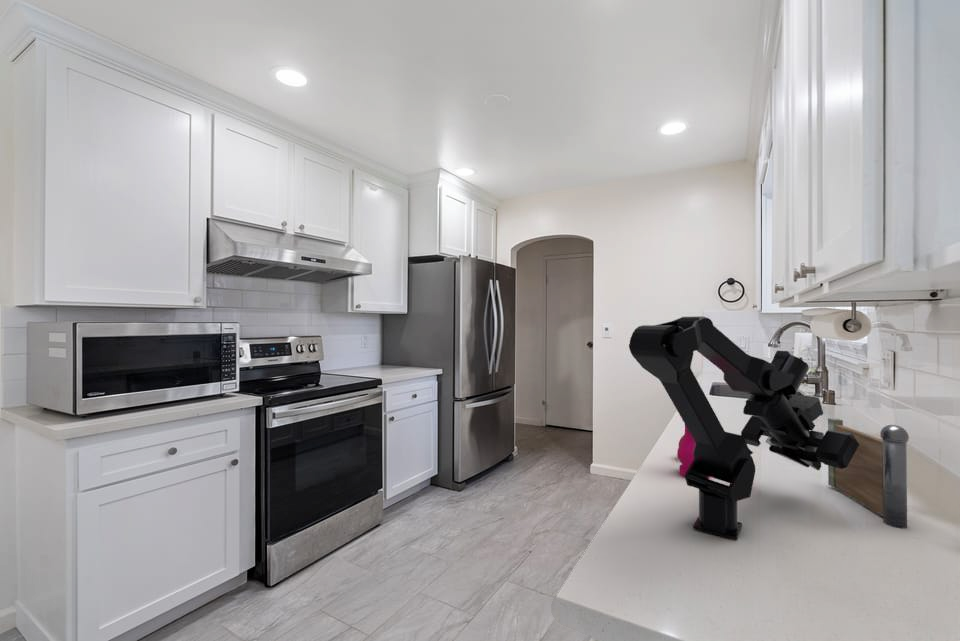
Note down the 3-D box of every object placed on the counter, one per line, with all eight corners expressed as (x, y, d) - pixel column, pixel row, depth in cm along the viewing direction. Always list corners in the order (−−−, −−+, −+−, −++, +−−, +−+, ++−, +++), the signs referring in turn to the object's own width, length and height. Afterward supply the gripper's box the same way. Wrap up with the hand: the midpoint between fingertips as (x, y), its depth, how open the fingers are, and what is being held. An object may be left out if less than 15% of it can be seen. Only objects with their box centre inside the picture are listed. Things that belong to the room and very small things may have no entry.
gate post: (911, 530, 74) (910, 428, 74) (882, 525, 76) (881, 425, 76) (907, 523, 77) (906, 424, 77) (880, 517, 79) (879, 421, 79)
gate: (880, 515, 79) (880, 436, 79) (828, 484, 94) (827, 418, 94) (892, 516, 78) (891, 436, 79) (837, 485, 94) (837, 418, 94)
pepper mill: (675, 477, 100) (675, 388, 100) (678, 468, 106) (678, 384, 107) (712, 483, 97) (712, 390, 97) (712, 473, 103) (712, 386, 103)
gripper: (852, 388, 77) (889, 447, 81) (750, 376, 94) (784, 425, 98) (824, 438, 74) (863, 496, 78) (723, 416, 91) (760, 465, 95)
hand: (813, 466), depth 87 cm, fingers closed
